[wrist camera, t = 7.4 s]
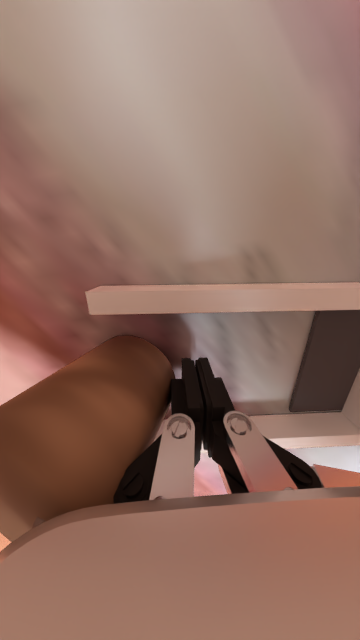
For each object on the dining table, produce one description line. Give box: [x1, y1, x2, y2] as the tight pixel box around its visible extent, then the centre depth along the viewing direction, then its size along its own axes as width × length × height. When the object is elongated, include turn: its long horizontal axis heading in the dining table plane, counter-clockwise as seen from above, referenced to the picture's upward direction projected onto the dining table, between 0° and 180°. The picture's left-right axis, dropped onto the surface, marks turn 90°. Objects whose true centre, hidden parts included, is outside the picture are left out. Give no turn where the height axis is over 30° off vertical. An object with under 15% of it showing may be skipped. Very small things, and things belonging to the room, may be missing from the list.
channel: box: [85, 282, 360, 453], centre depth 12 cm, size 20×12×2 cm, turn 90°
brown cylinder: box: [0, 335, 175, 542], centre depth 8 cm, size 6×6×7 cm
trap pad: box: [289, 310, 360, 412], centre depth 13 cm, size 4×9×1 cm, turn 0°
